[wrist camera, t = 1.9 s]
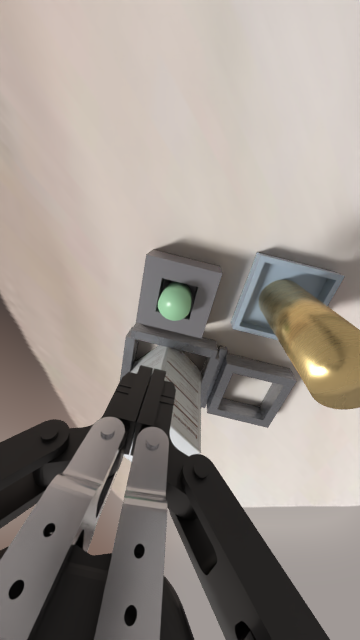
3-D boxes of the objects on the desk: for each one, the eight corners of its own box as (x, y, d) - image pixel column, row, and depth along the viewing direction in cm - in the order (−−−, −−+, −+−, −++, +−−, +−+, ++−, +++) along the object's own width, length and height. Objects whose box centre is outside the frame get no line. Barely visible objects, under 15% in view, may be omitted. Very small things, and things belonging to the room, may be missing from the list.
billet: (268, 274, 25) (334, 336, 12) (310, 285, 25) (419, 357, 12) (252, 313, 27) (294, 399, 14) (290, 323, 27) (366, 416, 15)
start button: (165, 278, 24) (161, 286, 22) (195, 285, 24) (194, 294, 22) (160, 305, 26) (155, 316, 23) (188, 312, 26) (186, 324, 23)
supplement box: (165, 392, 35) (147, 477, 24) (133, 361, 33) (96, 438, 21) (202, 371, 32) (202, 455, 21) (170, 336, 30) (151, 408, 19)
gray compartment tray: (132, 320, 30) (126, 328, 27) (294, 360, 30) (302, 372, 28) (123, 386, 35) (117, 398, 33) (260, 420, 35) (263, 434, 33)
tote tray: (257, 252, 24) (261, 255, 23) (334, 271, 24) (344, 276, 23) (230, 321, 28) (232, 328, 27) (297, 338, 28) (303, 346, 27)
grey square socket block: (153, 249, 25) (146, 254, 22) (220, 266, 25) (222, 273, 22) (143, 310, 29) (135, 322, 26) (201, 325, 29) (201, 338, 26)
